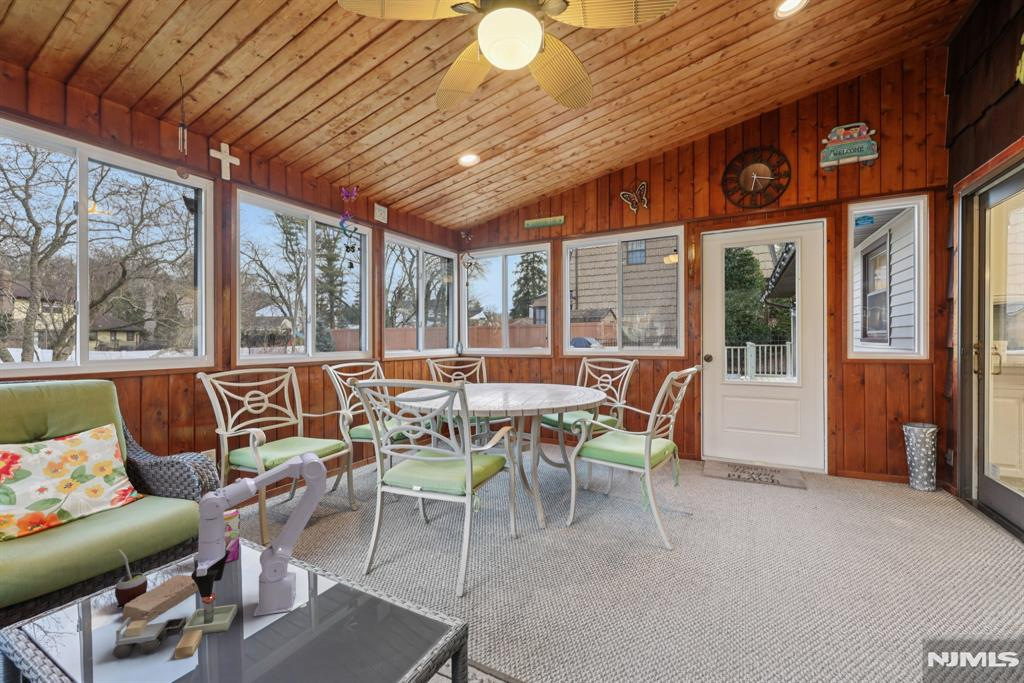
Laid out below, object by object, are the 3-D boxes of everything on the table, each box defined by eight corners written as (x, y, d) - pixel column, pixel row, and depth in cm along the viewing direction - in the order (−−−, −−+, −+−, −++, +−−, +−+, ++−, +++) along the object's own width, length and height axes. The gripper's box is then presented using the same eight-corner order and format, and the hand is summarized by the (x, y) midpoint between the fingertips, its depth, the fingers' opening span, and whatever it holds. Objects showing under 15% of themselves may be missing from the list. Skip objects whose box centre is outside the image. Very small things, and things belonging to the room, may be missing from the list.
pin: (217, 617, 121) (217, 592, 121) (213, 624, 118) (213, 598, 118) (204, 619, 120) (204, 593, 120) (200, 626, 118) (200, 600, 117)
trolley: (167, 638, 113) (167, 612, 113) (157, 653, 108) (157, 625, 108) (125, 644, 111) (125, 617, 111) (112, 659, 106) (112, 631, 106)
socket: (186, 623, 119) (186, 617, 119) (179, 634, 115) (179, 627, 115) (167, 626, 118) (167, 619, 118) (160, 636, 114) (160, 630, 114)
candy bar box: (201, 571, 144) (201, 521, 144) (197, 565, 148) (197, 517, 147) (240, 559, 152) (240, 512, 152) (235, 554, 156) (236, 508, 156)
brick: (144, 626, 118) (144, 609, 118) (120, 621, 120) (120, 604, 120) (200, 591, 134) (201, 576, 134) (178, 587, 136) (178, 572, 136)
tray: (236, 611, 125) (237, 604, 125) (227, 630, 117) (227, 622, 117) (195, 617, 122) (195, 609, 122) (183, 636, 114) (183, 628, 114)
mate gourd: (141, 610, 125) (141, 557, 124) (105, 615, 122) (105, 561, 121) (151, 595, 131) (152, 545, 131) (118, 600, 129) (118, 549, 128)
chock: (202, 640, 114) (202, 629, 114) (192, 657, 108) (192, 645, 108) (185, 642, 113) (185, 632, 112) (175, 659, 107) (175, 648, 107)
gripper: (205, 528, 125) (205, 575, 125) (182, 553, 111) (182, 606, 111) (233, 525, 127) (233, 572, 127) (214, 550, 113) (214, 602, 113)
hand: (211, 588), depth 119 cm, fingers open, 7 cm apart
